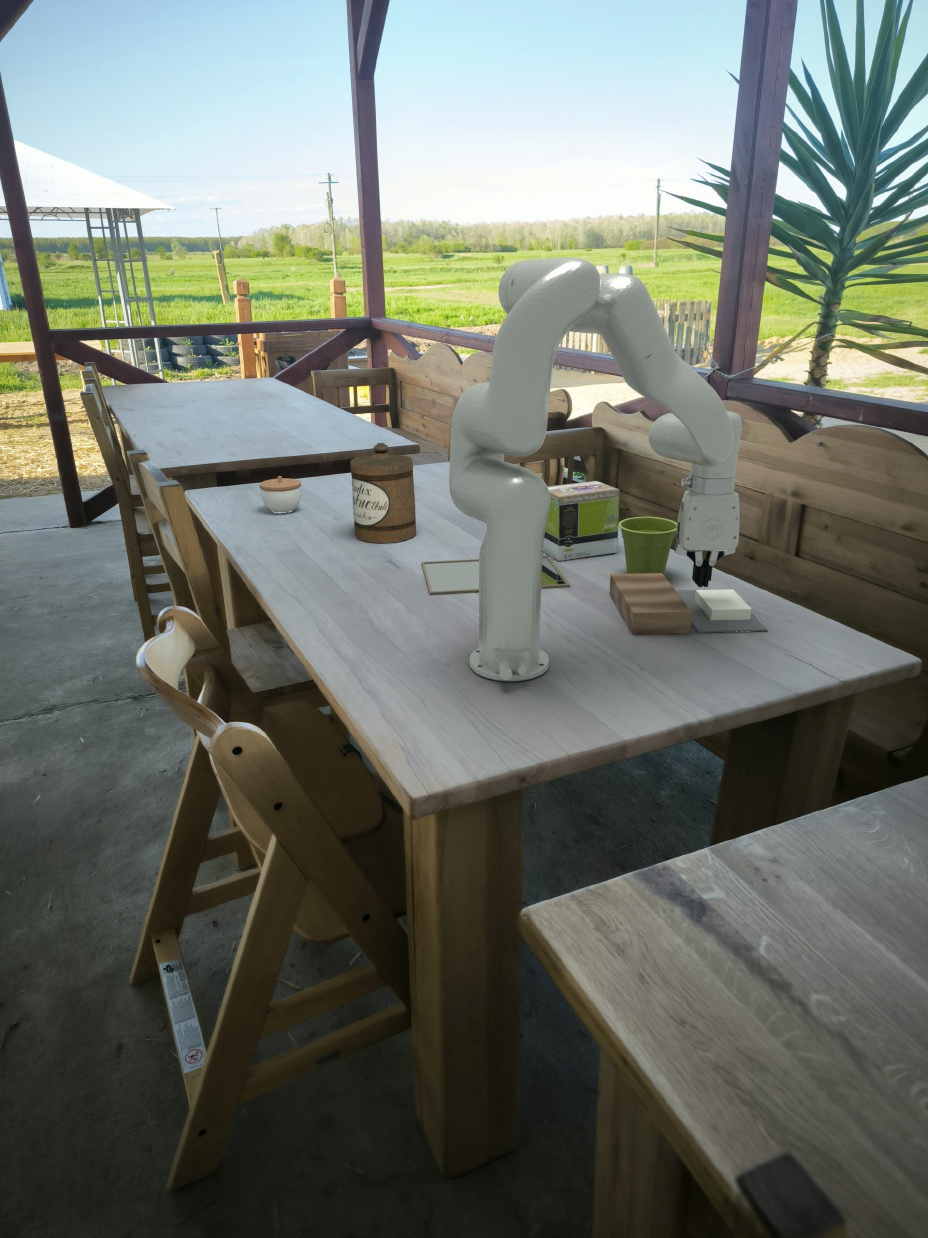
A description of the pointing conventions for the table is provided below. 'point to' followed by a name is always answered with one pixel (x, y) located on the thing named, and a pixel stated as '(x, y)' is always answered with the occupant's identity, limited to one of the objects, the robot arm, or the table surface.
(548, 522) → the tea box
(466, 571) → the picture frame
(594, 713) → the table surface
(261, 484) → the lidded jar
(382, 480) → the wooden container
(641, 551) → the plant pot
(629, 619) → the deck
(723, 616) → the cream white slab
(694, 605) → the mat
